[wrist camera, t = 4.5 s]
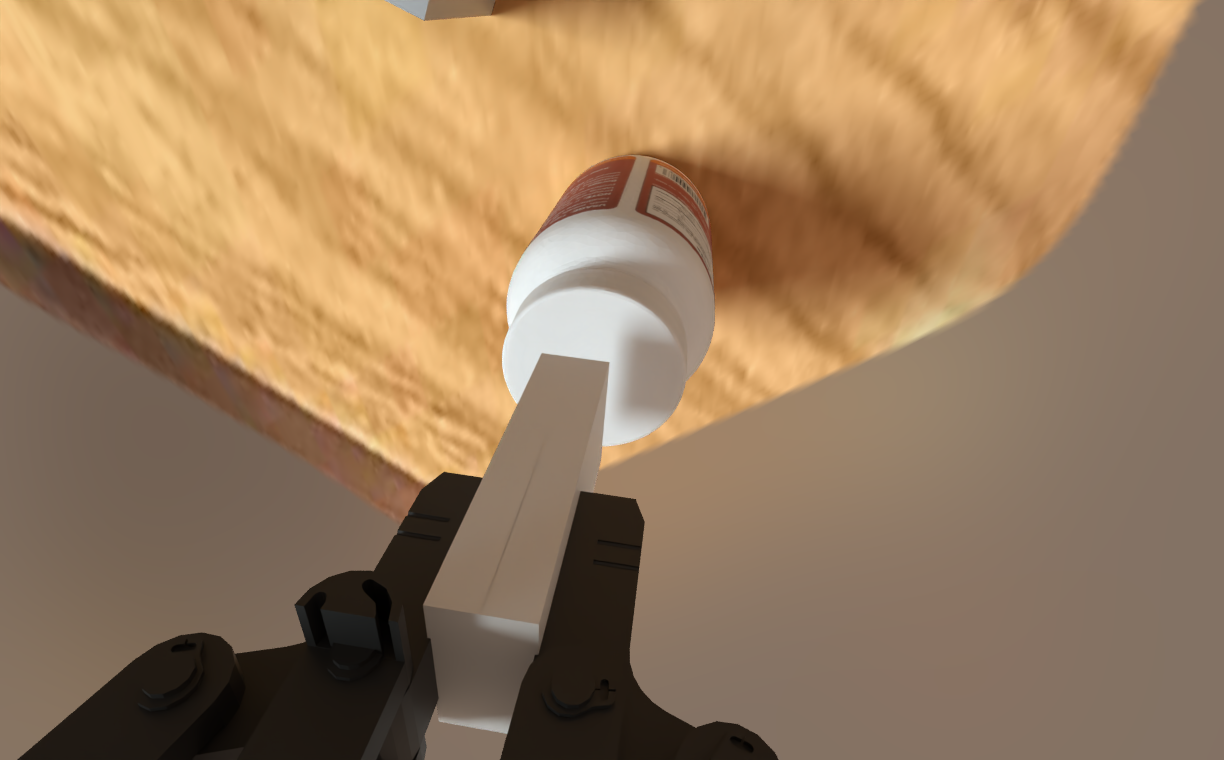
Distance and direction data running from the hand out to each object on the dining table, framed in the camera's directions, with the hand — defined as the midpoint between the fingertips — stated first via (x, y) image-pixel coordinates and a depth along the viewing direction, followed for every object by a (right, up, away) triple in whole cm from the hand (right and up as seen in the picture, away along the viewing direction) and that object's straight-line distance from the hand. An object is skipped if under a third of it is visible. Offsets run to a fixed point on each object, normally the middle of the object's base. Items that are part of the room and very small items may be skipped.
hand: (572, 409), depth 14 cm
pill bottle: (+2, +7, +11) cm, 13 cm away
